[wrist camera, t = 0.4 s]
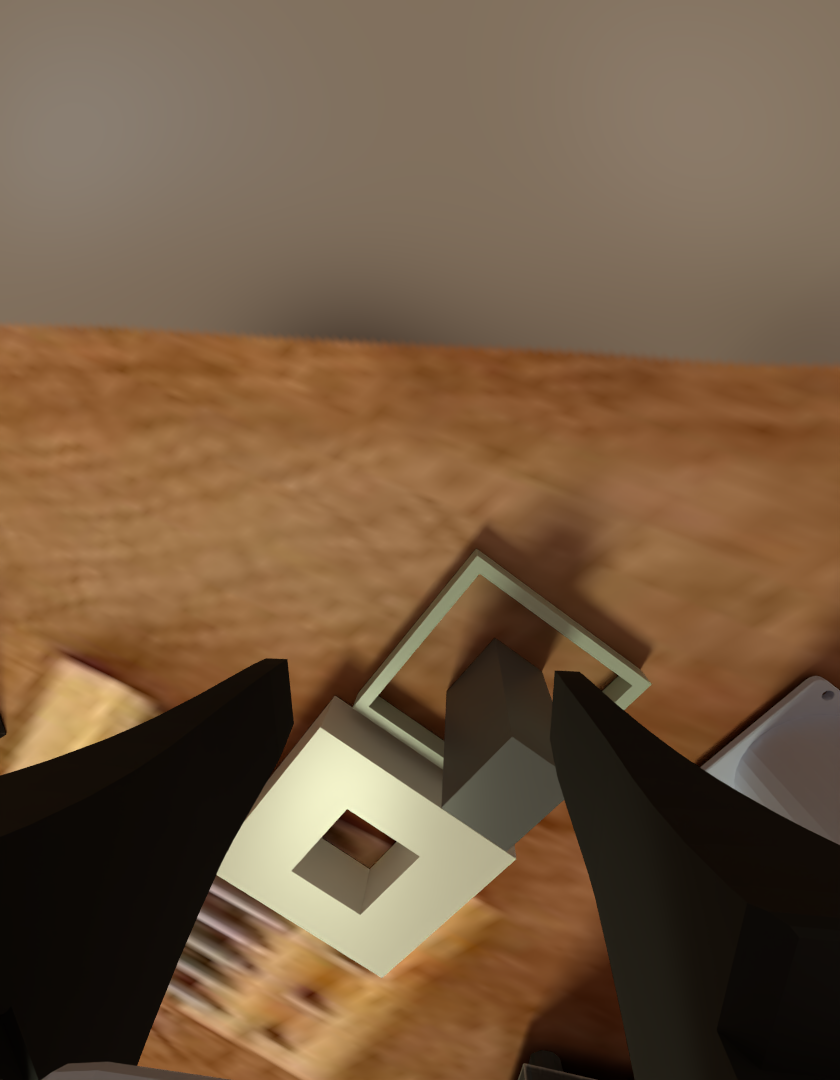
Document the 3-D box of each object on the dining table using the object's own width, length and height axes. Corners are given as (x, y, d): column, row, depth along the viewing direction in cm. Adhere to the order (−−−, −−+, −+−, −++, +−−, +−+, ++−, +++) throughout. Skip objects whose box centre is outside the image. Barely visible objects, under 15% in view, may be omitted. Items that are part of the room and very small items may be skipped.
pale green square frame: (640, 670, 21) (651, 684, 19) (508, 796, 23) (510, 815, 22) (476, 548, 20) (477, 555, 19) (357, 693, 22) (352, 708, 21)
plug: (541, 671, 21) (580, 784, 14) (491, 723, 22) (506, 851, 15) (494, 637, 21) (512, 736, 14) (446, 691, 22) (441, 807, 15)
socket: (510, 815, 24) (516, 858, 21) (389, 928, 27) (382, 977, 24) (335, 695, 23) (320, 727, 20) (230, 827, 26) (206, 868, 23)
